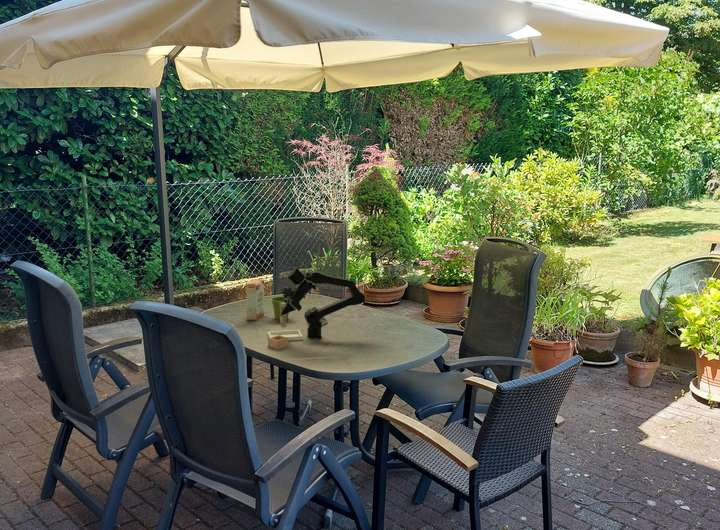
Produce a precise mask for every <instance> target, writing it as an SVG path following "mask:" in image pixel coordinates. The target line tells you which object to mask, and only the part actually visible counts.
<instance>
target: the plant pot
mask: <svg viewBox="0 0 720 530" xmlns="http://www.w3.org/2000/svg"><path fill="white" fill-rule="evenodd" d="M284 298H285V297H284V296H275V297H271V298H270V300H271V303H272V308H273V311H274V312H273V313H274V318H275V320H280V313H279V312H280V303H284ZM289 314H290V312H289V313H287V314H286V320H287V319H288V318H289Z"/></svg>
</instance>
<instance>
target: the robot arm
mask: <svg viewBox="0 0 720 530" xmlns="http://www.w3.org/2000/svg"><path fill="white" fill-rule="evenodd" d="M286 278H287V279H288V280H290V282H292V283H293V284H294V285H296V286H297V285H298V286H297V287H294V288H292V287H289V286H288V287H287V286H284V285H282V288H281V289H280V292H281V294H282V297H285V298H284V303H286V307H285V308H284V310H283V311H282V313H281V315H285V314H287V313H289V314H290V313H292V312H293V311H298V312H301V310H302V308H303V306H302V305H301V303H300V302H301V301H302V300H303V299H305V298H306V295H307V294H309V292H310V291H312V290H313V291H316V290H317V288H316V287H317V285H318V284H320V285H321V284H330V285H334V286H338V287H339V286H340V287H345V288H347V289H348V290H349V292H350V293H349V294H348V295H346V297H344V298H342V299H340V300H337V301H335V302H333V303H330V304H327V305H326V306H323V307H321V308H320V307H319V308H317V307H316V306H313V307H312V308H308V309H307V310H306V311H305V313H304V315H303V317H304V319H305V322H306V323H307V324H308V325H307V328H306V334H307V335H306V336H307V337H308V338H309V339H316V340H317V339H322V338H323V336H322V324H323V323H322V322H320V320H321V319H322V318H323V317H324V318H325V316H328V315H330V314H333V313H335V312H338V311H339V310H342V309H344V308H347V307H349V306H350V307H351V306H357V305H362V304H363V303H364V302H365V301H366V296H365V294H364V293H362V291H360V290H359V289H358V287H357V286H356V284H355V282H354V281H353V280H352V279H350V278H343V277H339V276H333V275H327V274H326V273H323V272H321V271H318V270H316V269H315V270H314V269H312V270H311V271H310V272H306V273H305V272H304V273H303V272H302V271H300V269H299V268H298V267H295V269H293V270H291V271H290V272H289V273H288V274H287V276H286ZM279 313H280V312H279Z"/></svg>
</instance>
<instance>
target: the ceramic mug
mask: <svg viewBox="0 0 720 530" xmlns="http://www.w3.org/2000/svg"><path fill="white" fill-rule="evenodd" d="M320 322H321V323H322V324H327V323H328V319H327V318H326V317H325V316H324V317H323V318H322V319H321V320H320Z"/></svg>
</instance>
